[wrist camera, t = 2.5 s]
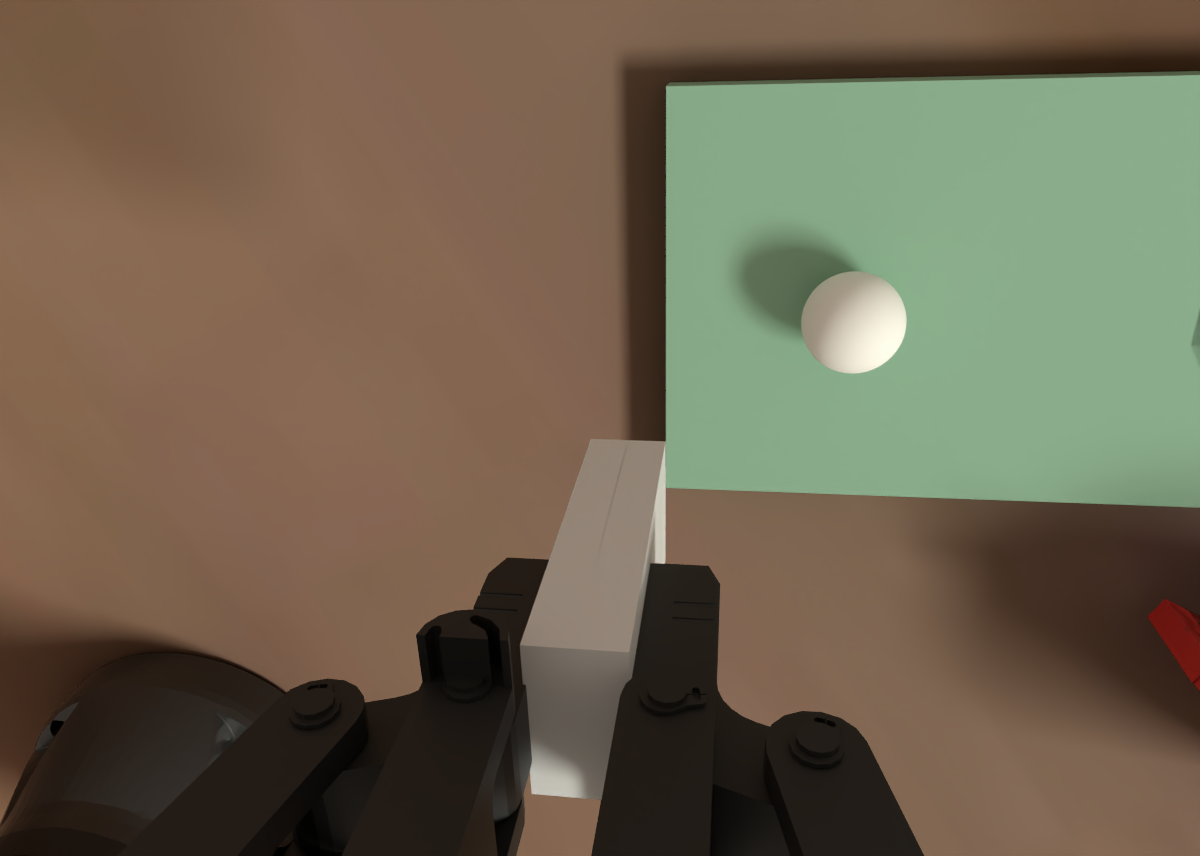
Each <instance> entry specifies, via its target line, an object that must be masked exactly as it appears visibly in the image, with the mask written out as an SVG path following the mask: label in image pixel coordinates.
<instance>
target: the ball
mask: <svg viewBox="0 0 1200 856" xmlns="http://www.w3.org/2000/svg"><path fill="white" fill-rule="evenodd" d="M906 320H907V319H906V311H905V307H904V304H903V302H902V299H901V297H900V296H899V294H898V293H897V291H896V290H895V289H894V288H893V287H892V286H891V285H890V284H889V283H888V282H887V281H885V280H884V279H882V278H880V277H878V276H876V275H873V274H870V273H866V272H860V271H851V272H844V273H840V274H837V275H834V276H832V277H830V278H828V279H827V280H825V281H823V282H822V283H821V284H820V285H818V286H817V287H816V288H815V289H814V291H813V292H812V293H811V295H810V296H809V298H808V300H807V301H806V304H805V306H804V309H803V312H802V318H801V330H802V336H803V339H804V342H805V344H806V346H807V348H808V350H809V351H810V353H811V354H812V355H813V356H814V358H815V359H817V360H818V361H819V362H820V363H821V364H823V365H824V366H826V367H828V368H830V369H832V370H835V371H838V372H842V373H850V374H853V373H863V372H867V371H870V370H873V369H875V368H877V367H879V366H881V365H882V364H884V363H885V362H887V361H888V360H889V359H890V358H891V357H892V356H893V355H894V354H895V352H896V351H897V350H898V348H899V346H900V345H901V343H902V341H903V338H904V335H905V330H906Z"/></svg>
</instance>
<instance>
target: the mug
mask: <svg viewBox="0 0 1200 856" xmlns="http://www.w3.org/2000/svg"><path fill="white" fill-rule="evenodd" d="M1147 617H1148V619H1149V620H1150V622H1151V623H1152V624H1153V626H1154V627H1155V629H1156V630H1157V632H1158V633H1159V635H1160V636H1161V638H1162V639H1163V641H1164V642H1165V644H1166V645H1167V647H1168V648H1169V650H1170V651H1171V653H1172V654H1173V656H1174V657H1175V658H1176V660H1177V661H1178V663H1179V664H1180V666H1181V667H1182V669H1183V670H1184V672H1185V673H1186V675H1187V676H1188V678H1189V679H1190V681H1191V682H1192V683H1193V684H1195V686H1196V687H1197V689H1198V690H1199V692H1200V616H1199V615H1197V614H1194V613H1192V612H1190V611H1188V610H1186V609H1185V608H1183V607H1181V606H1179V605H1177V604H1175V603H1173V602H1171V601H1169V600H1167V599H1164V600H1163V601H1162V602H1161V603H1160V604H1159V605H1158V606H1157V607H1156V608H1155V609H1154V610H1153V611H1152V612H1151V613H1150V614H1149V615H1148V616H1147Z"/></svg>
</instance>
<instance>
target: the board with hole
mask: <svg viewBox="0 0 1200 856" xmlns="http://www.w3.org/2000/svg"><path fill="white" fill-rule="evenodd" d="M851 271H860V272H866V273H870V274H873V275H876V276H878V277H880V278H882V279H884V280H885V281H887V282H888V283H889V284H890V285H891V286H892V287H893V288H894V289H895V290H896V291H897V293H898V294H899V296H900V297H901V299H902V302H903V304H904V307H905V311H906V319H907V320H906V330H905V335H904V338H903V341H902V343H901V345H900V346H899V348H898V350H897V351H896V352H895V354H894V355H893V356H892V357H891V358H890V359H889V360H888V361H887V362H885V363H884V364H882V365H881V366H879V367H877V368H875V369H873V370H870V371H867V372H863V373H853V374H850V373H842V372H838V371H835V370H832V369H830V368H828V367H826V366H824V365H823V364H821V363H820V362H819V361H818V360H817V359H815V358H814V356H813V355H812V354H811V353H810V351H809V350H808V348H807V346H806V344H805V342H804V339H803V336H802V330H801V318H802V312H803V309H804V306H805V304H806V301H807V300H808V298H809V296H810V295H811V293H812V292H813V291H814V289H815V288H816V287H817V286H818V285H820V284H821V283H822V282H823V281H825V280H827V279H828V278H830V277H832V276H834V275H837V274H840V273H844V272H851ZM666 488H687V489H714V490H741V491H767V492H794V493H821V494H848V495H875V496H902V497H929V498H956V499H983V500H1009V501H1036V502H1063V503H1090V504H1117V505H1144V506H1171V507H1198V508H1200V71H1177V72H1131V73H1085V74H1038V75H992V76H946V77H900V78H853V79H807V80H761V81H715V82H669V84H668V85H667V86H666Z"/></svg>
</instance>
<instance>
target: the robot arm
mask: <svg viewBox="0 0 1200 856" xmlns="http://www.w3.org/2000/svg"><path fill="white" fill-rule="evenodd" d="M719 601H720V583H719V582H718V580H717V579H716V577H715V575H714V574H713V572H712V571H711V569H710V568H709V566H699V565H679V564H665V441H636V440H605V439H591V440H590V443H589V446H588V449H587V452H586V455H585V457H584V460H583V463H582V466H581V469H580V472H579V475H578V478H577V481H576V484H575V486H574V489H573V492H572V495H571V498H570V501H569V504H568V507H567V510H566V513H565V515H564V518H563V521H562V524H561V527H560V530H559V533H558V536H557V539H556V541H555V544H554V547H553V550H552V553H551V556H550V559H549V560H544V559H524V558H506V559H505V560H504V561H503V562H501V563H500V564H499V565H498V566H497V567H496V568H494V569H493V570H492V571H491V572H490V573H489V574H488V576H487V578H486V580H485V583H484V585H483V587H482V589H481V592H480V596H478V598H477V601H476V603H475V605H474V610H459V611H454V612H450V613H447V614H443V615H440V616H438V617H436V618H435V619H433V620H431V621H430V622H428V623H426V624H425V625H424V626H423V627H422V629H421V630H420V631H419V632H418V633H417V635H416V638H417V645H418V652H419V659H420V666H421V673H422V681H423V682H422V684H421V686H420V689H419V690H418V691H416V692H414V693H411V694H408V695H404V696H400V697H396V698H390V699H384V700H378V701H372V702H366V703H365V701H364V696H363V695H362V693H361V692H360V690H359V689H358V687H357V686H355V685H353V684H351V683H349V682H347V681H344V680H335V679H323V680H317V681H311V682H307V683H305V684H303V685H300V686H298V687H295V688H293V689H291V690H290V691H288V692H287V693H286V694H284V693H282V692H281V691H279V690H278V689H276V688H275V687H273V686H272V685H270V684H268V683H267V682H265V681H263V680H261V679H259V678H258V677H256V676H254V675H252V674H250V673H247V672H245V671H243V670H241V669H238V668H236V667H233V666H231V665H228V664H225V663H222V662H219V661H215V660H212V659H208V658H203V657H199V656H193V655H187V654H178V653H148V654H140V655H134V656H130V657H126V658H122V659H119V660H116V661H114V662H111V663H109V664H107V665H105V666H103V667H101V668H100V669H98V670H96V671H95V672H94V673H92V674H91V675H90V676H89V677H87V678H86V679H85V680H84V681H83V682H82V683H81V684H80V685H79V686H78V687H77V688H76V690H75V691H74V692H73V693H72V694H71V695H70V696H69V697H68V698H67V699H66V700H65V701H64V702H63V703H62V704H61V705H60V706H59V707H58V708H57V710H56V711H55V712H54V713H53V715H52V716H51V717H50V719H49V720H48V722H47V723H46V725H45V726H44V728H43V730H42V732H41V734H40V737H39V739H38V741H37V743H36V746H35V750H34V753H33V754H32V756H31V758H30V760H29V762H28V764H27V766H26V768H25V770H24V772H23V774H22V776H21V778H20V780H19V782H18V785H17V787H16V789H15V791H14V794H13V796H12V798H11V800H10V802H9V805H8V807H7V809H6V811H5V814H4V816H3V818H2V820H1V822H0V856H516V854H517V850H518V846H519V843H520V839H521V835H522V831H523V827H524V819H525V809H524V797H523V793H524V789H525V786H526V782H527V779H528V775H529V771H530V777H531V789H532V794H540V795H552V796H563V797H574V798H586V799H597V800H601V805H600V810H599V816H598V822H597V827H596V833H595V838H594V844H593V850H592V855H591V856H924V854H923V852H922V850H921V849H920V847H919V845H918V843H917V841H916V839H915V837H914V835H913V833H912V831H911V829H910V827H909V825H908V823H907V821H906V819H905V817H904V815H903V813H902V811H901V809H900V807H899V805H898V803H897V801H896V799H895V797H894V795H893V793H892V791H891V789H890V787H889V785H888V783H887V781H886V779H885V777H884V775H883V773H882V771H881V769H880V767H879V765H878V763H877V761H876V759H875V757H874V755H873V753H872V751H871V749H870V747H869V745H868V743H867V741H866V740H865V739H864V737H863V736H862V735H861V734H860V732H859V731H858V730H857V729H856V728H855V727H853V726H852V725H850V724H849V723H847V722H846V721H844V720H843V719H841V718H839V717H835V716H832V715H829V714H826V713H823V712H809V711H801V712H797V713H792V714H788V715H784V716H783V717H782V718H780V719H779V720H777V721H776V722H775V723H773V724H772V725H771V727H769V726H766V725H763V724H760V723H757V722H754V721H752V720H749V719H747V718H745V717H743V716H741V715H740V714H738V713H737V712H735V711H734V710H732V709H731V708H730V707H729V706H728V705H727V704H726V703H725V702H724V701H723V699H722V697H721V695H720V693H719V691H718V687H717V666H718V634H719Z"/></svg>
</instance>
